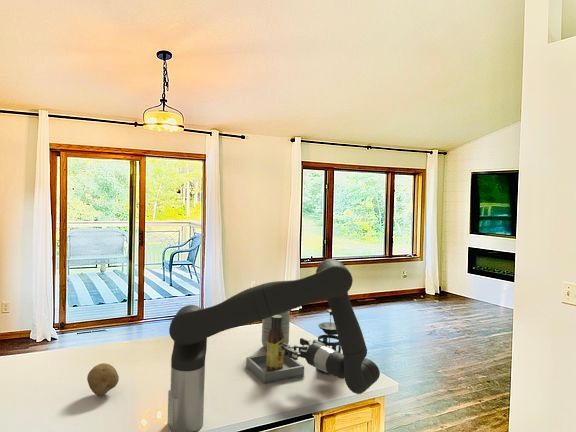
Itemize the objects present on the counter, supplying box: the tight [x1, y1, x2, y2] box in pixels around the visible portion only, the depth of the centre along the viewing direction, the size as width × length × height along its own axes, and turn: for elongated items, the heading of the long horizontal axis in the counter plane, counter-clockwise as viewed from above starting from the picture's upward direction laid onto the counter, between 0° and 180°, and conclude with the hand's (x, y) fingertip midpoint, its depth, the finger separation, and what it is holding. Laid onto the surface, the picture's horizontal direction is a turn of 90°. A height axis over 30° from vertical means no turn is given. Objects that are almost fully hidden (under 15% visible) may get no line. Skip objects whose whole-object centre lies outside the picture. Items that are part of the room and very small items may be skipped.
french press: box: [315, 308, 342, 376], centre depth 158 cm, size 12×9×23 cm
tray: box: [245, 353, 305, 385], centre depth 155 cm, size 16×16×4 cm
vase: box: [261, 310, 291, 351], centre depth 178 cm, size 12×12×23 cm
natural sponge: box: [86, 363, 119, 397], centre depth 132 cm, size 9×9×10 cm
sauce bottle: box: [266, 315, 284, 371], centre depth 154 cm, size 7×6×20 cm
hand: (291, 343), depth 147 cm, fingers open, 8 cm apart
